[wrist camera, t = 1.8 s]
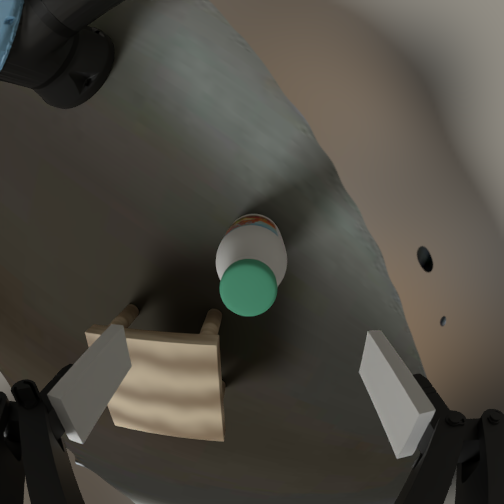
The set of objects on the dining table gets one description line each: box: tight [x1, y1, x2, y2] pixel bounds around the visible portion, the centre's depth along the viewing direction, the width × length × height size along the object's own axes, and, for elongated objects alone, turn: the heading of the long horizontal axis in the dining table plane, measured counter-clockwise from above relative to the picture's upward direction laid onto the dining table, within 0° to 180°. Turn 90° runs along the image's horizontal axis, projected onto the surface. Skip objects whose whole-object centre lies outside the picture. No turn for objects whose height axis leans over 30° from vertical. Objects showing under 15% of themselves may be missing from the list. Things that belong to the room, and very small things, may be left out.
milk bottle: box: [216, 214, 287, 316], centre depth 33 cm, size 8×8×20 cm
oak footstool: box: [85, 304, 226, 441], centre depth 41 cm, size 18×18×12 cm
